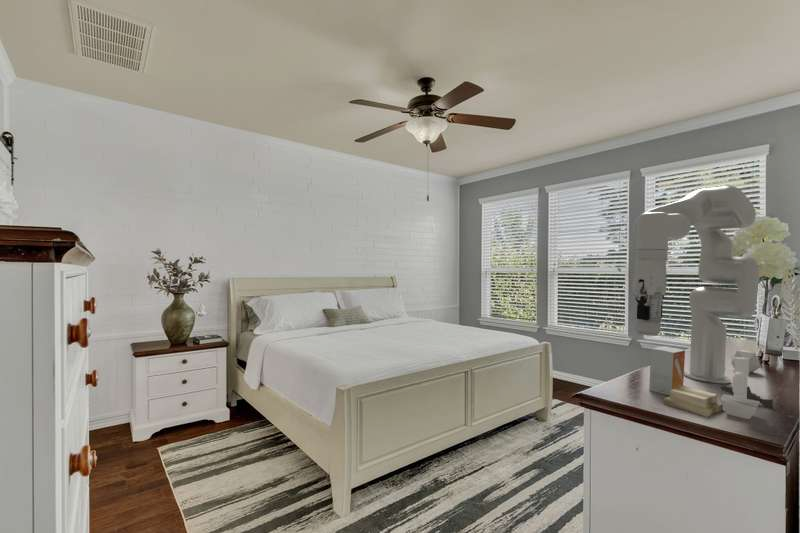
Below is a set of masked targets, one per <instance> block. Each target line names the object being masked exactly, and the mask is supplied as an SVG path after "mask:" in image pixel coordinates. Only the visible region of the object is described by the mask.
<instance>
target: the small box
mask: <svg viewBox="0 0 800 533" xmlns="http://www.w3.org/2000/svg"><path fill="white" fill-rule="evenodd" d="M685 358H686V350H685V349H680V348H676V347H671V346H670V347H669V346H664V345H663V346H657V347H654V348H653V347H652V348H650V362H649V364H650V365H649V384H648V385H649V386H648V387H649V388H648V390H649V391H652V392H655V393H659V394H662V395H666V396H668V397H670V390H672V389H675V388H678V387H682V386H684V378H685V375H684V371H685V360H686V359H685Z"/></svg>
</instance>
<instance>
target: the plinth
mask: <svg viewBox="0 0 800 533" xmlns="http://www.w3.org/2000/svg"><path fill="white" fill-rule="evenodd" d="M718 396H719V395H718V394H717V393H713V392H709V391H704V390H701V389H699V388H698V389H697V388H693V387H689V386H685V385H683V386H682V387H678V388H675V389H672V390H670V396H668V397H665V398H663V404H664V405H666V406H669V407H673V408H677V409H679V410H682V411H683V410H684V411H687V412H690V413H693V414H697V415H700V416H703V417H710V416H712V415H714V414H716V413H719V412H721V411H724V410H723V409H724V407H723V405H722V403H721V402H718Z"/></svg>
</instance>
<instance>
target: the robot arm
mask: <svg viewBox="0 0 800 533" xmlns="http://www.w3.org/2000/svg"><path fill="white" fill-rule="evenodd" d="M756 211H757V210H756V208H755V206H754V204H753V203H752V202H751V200H750V199H749V198H748V197H747V195H746V194H745V193H744V192H743V191H742V190H741V189H740V188H738V187H736V186H734V185H724V186H716V187H709V188H708V187H706V188H700V189H697V190H694V191H692V192H690V193H688V194H687V195H686V196H684V197H682V198H681V199H679V200H678V201H674V202H670V203H668V204H665V205H661V206H658V207H654V208H651V209H649V210H647V211H644V212H643V213H641V214H640V215H638V217H637V218H636V219H635V220H634V221H633V224H632V232H633V235H634V236H635V238H636V253H635V255H636V256H635V265H634V268H633V269H634V270H633V277H632V285H631V286H632V288H631V290H632V291H631V292H632V294H633V295H634V297H635V298H634V299H635V300H636V301H635V302H636V303H635V304H637V319H642V320H649V319H650V306H648V305H649V301H650V297H651V296H653V295H654V294H655V291H656V289H657V288H658V287H661V288H662V297H661V319H662V318H663V305H664V299H665V295H666V293H667V278H668V277H667V264H666V263H667V262H668V254H669V240H670V241H671V240H672V241H673V240H679V239H683V238H685V237H687V235H688V234H689V233H690V231H691V226H692V225H693V228H694V230H695V231H696V233H697V235H698V237H699V239H700V243H701V244H700V254H699V261H698V262H699V263H698V271H697V273H698V275H697V276H698V278H699V280H700V281H701V282H703V283H707V284H713V285H714V284H715V285H729V286H730V285H731V286H737V288H733V287H732V288H730V287H729V288H728V287H718V286H700V287H696V288H694V289H692V291H690V293H689V295H688V296H689V297H688V298H689V300H688V301H689V307H690V308H689V309H690V314H691V315H690V316H691V328H690V329H691V330H690V332H691V333H690V351H689V352H690V353H689V354H690V356H689V369H686V370H684V377H687V378H689V379H693V380H695V381H701V382H705V383H711V384H730V383H731V378H730V377H729V376H726V374H725V373H726V372H725V371H726V351H727V350H726V348H727V326H726V325H725V324H724V322H723V321H722V320H721V319H720V317H728V318H736V319H737V318H738V319H749V318H751V317H753V315H754V314H755V313H756V308H757V301H758V294H759V293H758V292H759V283H760V266H759V263H758V262H757V260H756V259H755V258H753V257H750V256H732V255H733V246H734V244H733V241H732V239H731V238H730V237H729V236H728V234H726V233H725V232H724V231H723V230H724V229H725V230H727V229H728V230H729V229H731V230H732V229H745V228H749V227H750V226H752V225H753V224H754V222H755V221H756V218H757V213H756ZM641 292H646V294H641ZM644 297H646V299H644Z"/></svg>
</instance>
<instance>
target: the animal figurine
mask: <svg viewBox="0 0 800 533" xmlns="http://www.w3.org/2000/svg"><path fill="white" fill-rule="evenodd" d="M720 389H721V391H722V392H723V393H724V394H725V393H726V394H727V395H731V396H734V393H733V386H728V385H722V386H720ZM747 399H750V400H755V401H760V403H759V404H761V405H762V406H765V407H768V408H771V409H773V407H774V405H773V404H774V400H773V399H767V398H766V399H765V398H761V396H759V395H757V394H756V393H753V392H752V390H751V388H750V386H749V385H747Z"/></svg>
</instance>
